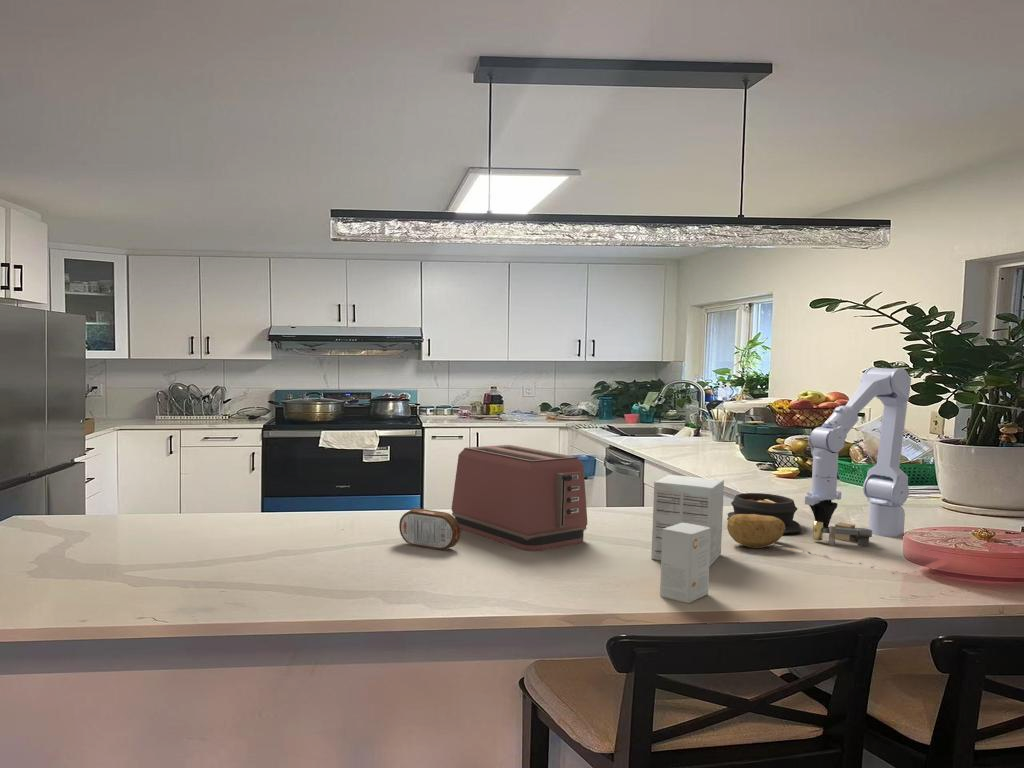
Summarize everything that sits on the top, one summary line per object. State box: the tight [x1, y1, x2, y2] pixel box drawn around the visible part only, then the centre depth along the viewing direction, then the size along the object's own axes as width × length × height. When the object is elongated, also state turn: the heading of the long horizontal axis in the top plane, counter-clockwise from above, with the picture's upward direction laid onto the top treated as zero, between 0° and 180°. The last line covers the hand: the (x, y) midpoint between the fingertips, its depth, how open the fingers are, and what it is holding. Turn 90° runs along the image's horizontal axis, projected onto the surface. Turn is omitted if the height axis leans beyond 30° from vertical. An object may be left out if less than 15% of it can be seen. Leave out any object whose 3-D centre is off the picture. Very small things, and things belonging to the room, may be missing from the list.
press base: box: [828, 525, 870, 548], centre depth 194 cm, size 16×20×6 cm
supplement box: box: [650, 474, 725, 568], centre depth 178 cm, size 13×13×18 cm
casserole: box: [726, 492, 803, 534], centre depth 211 cm, size 25×19×8 cm
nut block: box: [834, 522, 856, 542], centre depth 197 cm, size 4×4×4 cm
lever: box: [812, 520, 873, 541], centre depth 193 cm, size 7×13×4 cm, turn 79°
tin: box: [398, 507, 461, 551], centre depth 180 cm, size 15×3×8 cm, turn 65°
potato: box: [726, 514, 785, 549], centre depth 190 cm, size 10×14×8 cm
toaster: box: [451, 444, 588, 552], centre depth 196 cm, size 19×34×20 cm, turn 39°
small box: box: [659, 523, 711, 604], centre depth 150 cm, size 8×6×13 cm
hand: (821, 531), depth 195 cm, fingers closed
